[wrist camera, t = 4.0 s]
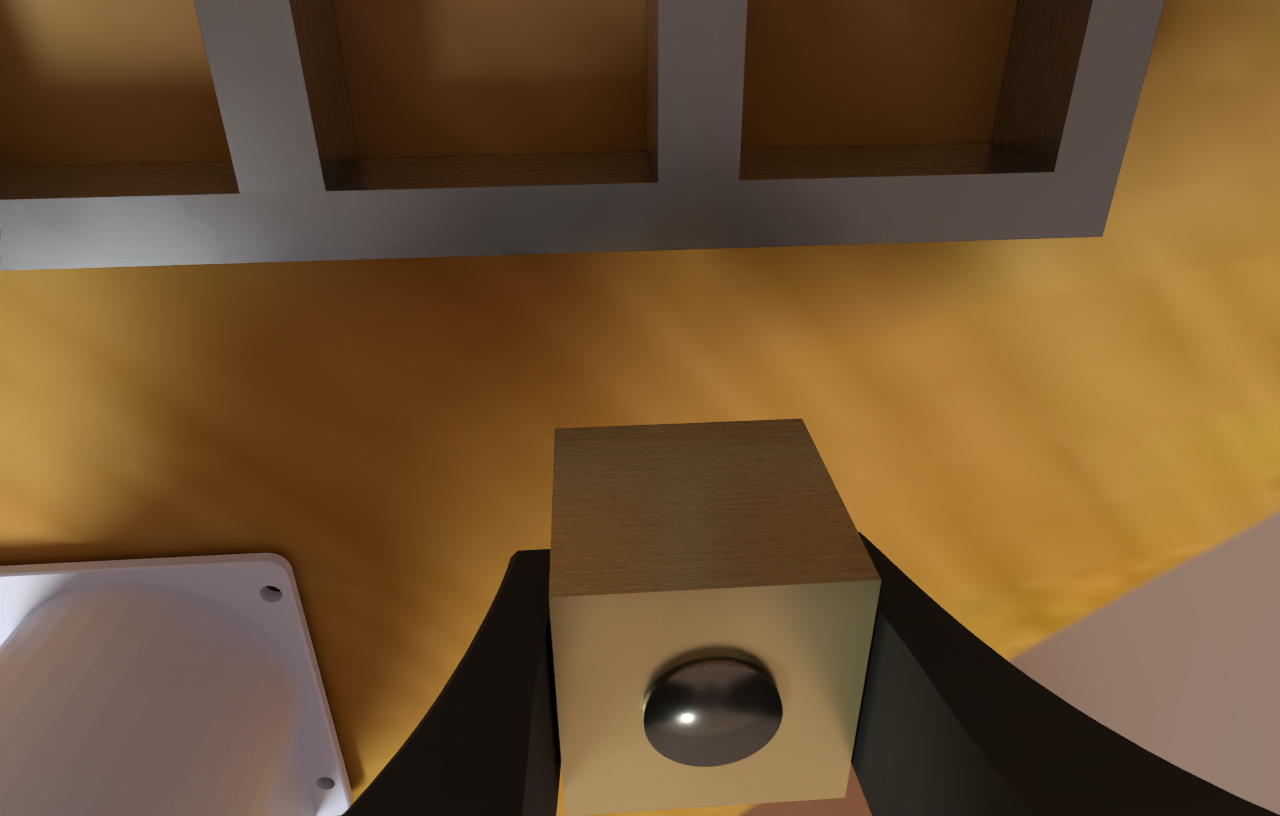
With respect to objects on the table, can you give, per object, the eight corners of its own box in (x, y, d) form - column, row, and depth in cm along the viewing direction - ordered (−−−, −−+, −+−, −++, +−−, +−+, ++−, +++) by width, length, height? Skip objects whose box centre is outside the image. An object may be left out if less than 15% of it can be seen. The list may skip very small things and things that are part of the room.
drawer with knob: (783, 606, 15) (848, 810, 12) (567, 618, 15) (565, 829, 12) (801, 419, 14) (887, 590, 10) (554, 428, 13) (548, 609, 10)
